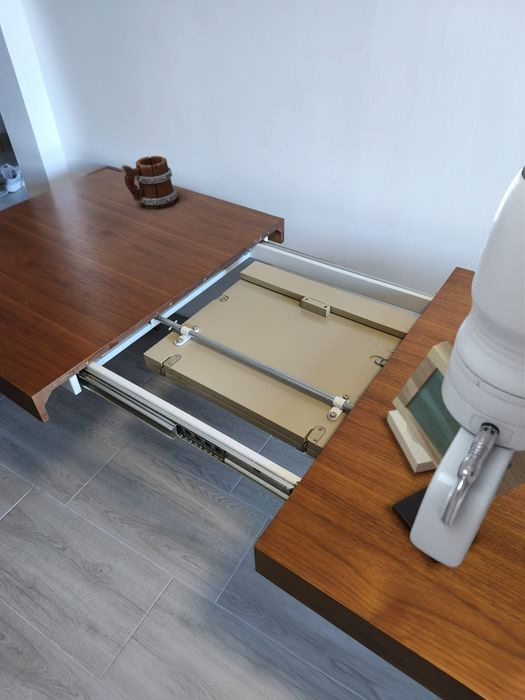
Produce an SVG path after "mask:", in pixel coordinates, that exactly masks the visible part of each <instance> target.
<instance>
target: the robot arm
mask: <svg viewBox="0 0 525 700" xmlns="http://www.w3.org/2000/svg"><path fill="white" fill-rule="evenodd" d="M470 292H471V294H470V295H471V307H470V310H469V312H468V315H467V316H466V317H465V318H464V320H463V321H462V323H461V324H460V326H459V328H458V330H457V333H456V335H455V339H454V342H453V345H452V347H453V349H452V352H451V356H450V359H449V362H448V366H447V369H446V372H445V376H444V379H443V383H442V397H443V400H444V403H445V405H446V407H447V409H448V410H449V412H450V413H451V415H452V416H453V417H454V418H455V419H456V420H457V421H458V422H459V424H460V425H461V427H460V429H459V431H458V433H457V434H456V436H455V438H454V440H453V441H452V443H451V445H450V446H449V448H448V450H447V452H446V453H445V455H444V457H443V458H442V460H441V462H440V464H439V465H438V467H437V468H436V469H435V471H434V473H433V475H432V477H431V479H430V481H429V483H428V485H427V487H428V488H427V490H426V493H425V496H424V498H423V501H422V503H421V506H420V508H419V511H418V513H417V516H416V519H415V522H414V524H413V527H412V530H411V533H410V532H409V539H410V542H411V543H412V545H414V546H415V547H416V549H418V550H420V551H421V552H423V553H424V554H426V555H427V556H428V555H429V556H430V557H432V558H434V559H436V560H437V561H438V562H439V563H441V564H443V565H445V566H447V567H450V568H457V567H459V566H460V565H461V564H462V563H463V561H464V559H465V558H466V556H467V554H468V552H469V549H470V548H471V545H472V543H473V542H474V540H475V537H476V536H477V534H478V531H479V530H480V528H481V525H482V523H483V522H484V519H485V517H486V515H487V513H488V512H489V511H488V510H489V509H490V507H491V505H492V503H493V501H494V500H493V498H494V496H495V494H496V492H497V489H498V487H499V485H500V483H501V481H502V478H503V476H504V474H505V472H506V470H507V467H508V465H509V463H510V461H511V459H512V456H513V454H514V452H515V451H523V450H525V165H524V166H523V167H522V168H521V169H520V170H519V172H518V173H517V174H516V176H515V177H514V178H513V180H512V181H511V183H510V185H509V186H508V188H507V190H506V191H505V193H504V196H503V198H502V199H501V201H500V204H499V206H498V208H497V211H496V213H495V215H494V217H493V220H492V222H491V225H490V227H489V229H488V232H487V235H486V237H485V241H484V244H483V247H482V249H481V252H480V255H479V258H478V262H477V264H476V268H475V271H474V274H473V278H472V282H471V291H470ZM429 556H428V557H429ZM430 557H429V558H430ZM437 561H436V562H437Z"/></svg>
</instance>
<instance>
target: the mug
mask: <svg viewBox="0 0 525 700" xmlns="http://www.w3.org/2000/svg"><path fill="white" fill-rule="evenodd" d="M120 168H121V169H122V170H123V171H124V173H125V175H124V184H125V186H126V188H127V190H129V193H130V194H131V195H132V198H133V200H134V201H136V202H139V203H140V205H141V207H144V208H146V209H154V210H155V209H163V208H166V207H169V206H172V205H173V204H174V203H175V202H176V201H177V197H178V194H177V189H176V188H175V187H174V185H173V183H172V177H173V172H172V170H171V168H170V167H169V164H168V160H167V158H165V157H163V156H161V155H151V156H149V155H148V156H144V157H140V158H139V159H137V160H136V161H135V168H132V167H131V166H129V165H125V164H123V165H122V166H121V167H120ZM135 181H136V182H138V185H137V184H135Z"/></svg>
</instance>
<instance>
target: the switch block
mask: <svg viewBox="0 0 525 700" xmlns="http://www.w3.org/2000/svg"><path fill="white" fill-rule="evenodd" d="M386 422H387V424H388V425H389V427H390V429H391V431H392V433H393V434H394V437H395V439H396V440H397V442H398V444H399V446H400V448H401V449H402V451H403V454H404V455H405V457H406V458H407V461H408V462H409V465H410V467H411V468H412V470H413V472H414V473H415V474H417V473H421V472H426V471H430V470H436V469H437V467H436V466H435V464H434V463H433V461H432V460H431V459H430V457H429V456H428V454H427V453H426V451H425V450H424V448H423V447H422V445H421V444H420V442H419V441H418V440H417V438H416V437H415V435H414V434H413V432H412V431H411V429H410V428H409V426H408V425H407V423H406V422H405V421H404V419H403V418H402V416H401V415H400V413H399V412H398V410H397V409H393V410H389V411H388V414H387V418H386Z"/></svg>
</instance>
